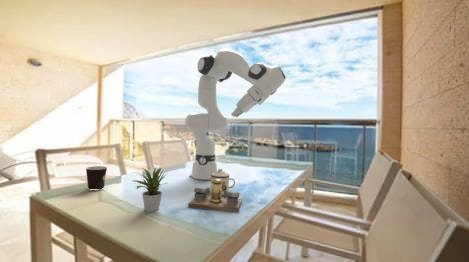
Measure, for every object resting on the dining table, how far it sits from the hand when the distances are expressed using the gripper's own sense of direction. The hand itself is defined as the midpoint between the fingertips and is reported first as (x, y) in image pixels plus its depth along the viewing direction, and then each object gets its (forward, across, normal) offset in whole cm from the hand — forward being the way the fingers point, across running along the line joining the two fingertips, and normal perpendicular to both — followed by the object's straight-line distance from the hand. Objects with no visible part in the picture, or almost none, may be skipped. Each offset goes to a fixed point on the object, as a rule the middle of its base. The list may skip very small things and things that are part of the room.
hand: (233, 116), depth 117 cm
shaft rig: (+29, +15, +24) cm, 40 cm away
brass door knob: (+28, +15, +23) cm, 39 cm away
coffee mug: (+71, +8, -18) cm, 73 cm away
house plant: (+45, +26, +8) cm, 53 cm away
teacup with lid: (+30, -3, +24) cm, 38 cm away
